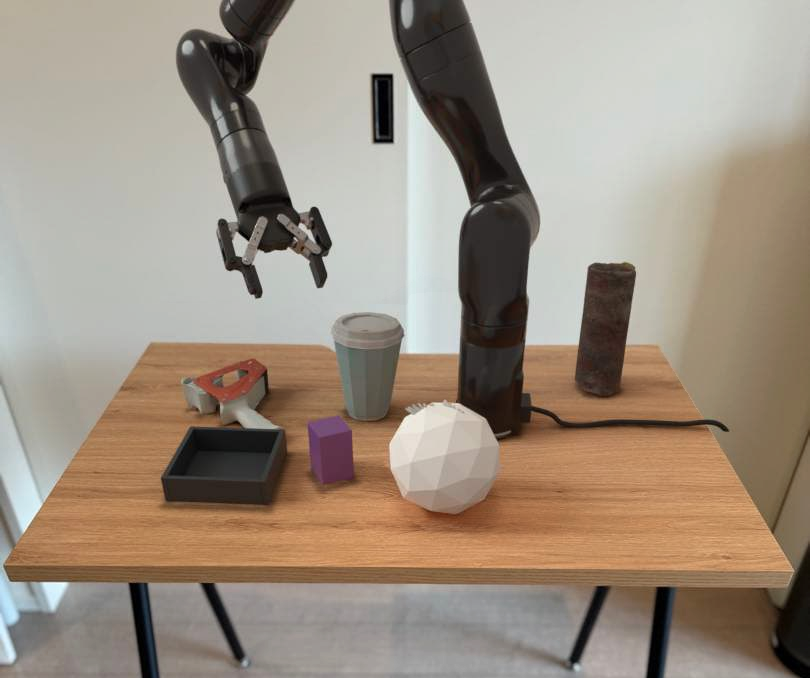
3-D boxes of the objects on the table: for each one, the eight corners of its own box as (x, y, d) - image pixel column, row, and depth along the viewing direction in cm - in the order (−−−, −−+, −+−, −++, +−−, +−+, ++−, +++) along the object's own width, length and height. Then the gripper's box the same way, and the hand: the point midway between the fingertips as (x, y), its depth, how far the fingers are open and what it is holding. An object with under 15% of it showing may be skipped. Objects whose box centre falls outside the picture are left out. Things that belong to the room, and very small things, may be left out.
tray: (287, 455, 113) (285, 429, 111) (268, 510, 103) (265, 481, 100) (195, 452, 114) (190, 426, 112) (166, 505, 103) (160, 478, 101)
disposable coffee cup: (338, 395, 128) (333, 304, 119) (405, 396, 128) (406, 305, 119) (331, 428, 120) (325, 332, 111) (403, 429, 120) (403, 334, 110)
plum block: (311, 473, 110) (307, 422, 105) (341, 466, 111) (338, 414, 106) (323, 489, 106) (319, 437, 102) (354, 481, 108) (352, 429, 103)
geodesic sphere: (347, 485, 96) (419, 407, 88) (371, 428, 108) (437, 353, 100) (442, 555, 100) (520, 486, 92) (456, 493, 112) (526, 426, 103)
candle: (565, 390, 130) (582, 267, 118) (580, 373, 135) (597, 253, 123) (611, 401, 127) (633, 275, 115) (625, 383, 132) (647, 261, 120)
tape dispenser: (279, 462, 115) (306, 390, 130) (277, 431, 111) (305, 361, 126) (159, 450, 116) (200, 381, 131) (153, 419, 112) (195, 351, 127)
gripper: (202, 165, 99) (241, 285, 98) (309, 153, 104) (348, 267, 103) (198, 200, 106) (234, 312, 105) (299, 188, 111) (335, 295, 110)
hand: (291, 290), depth 104 cm, fingers open, 8 cm apart
